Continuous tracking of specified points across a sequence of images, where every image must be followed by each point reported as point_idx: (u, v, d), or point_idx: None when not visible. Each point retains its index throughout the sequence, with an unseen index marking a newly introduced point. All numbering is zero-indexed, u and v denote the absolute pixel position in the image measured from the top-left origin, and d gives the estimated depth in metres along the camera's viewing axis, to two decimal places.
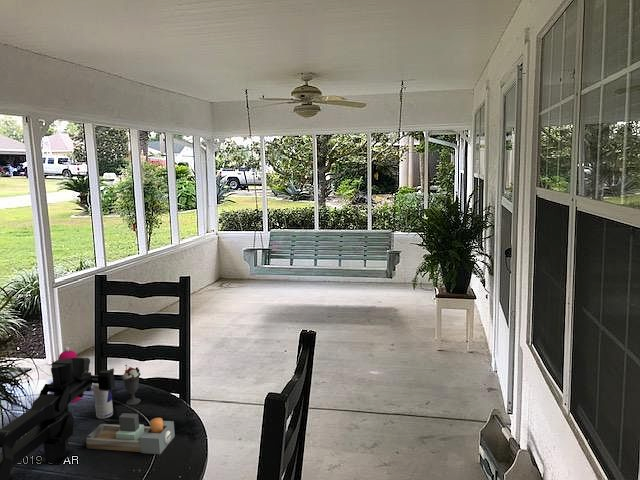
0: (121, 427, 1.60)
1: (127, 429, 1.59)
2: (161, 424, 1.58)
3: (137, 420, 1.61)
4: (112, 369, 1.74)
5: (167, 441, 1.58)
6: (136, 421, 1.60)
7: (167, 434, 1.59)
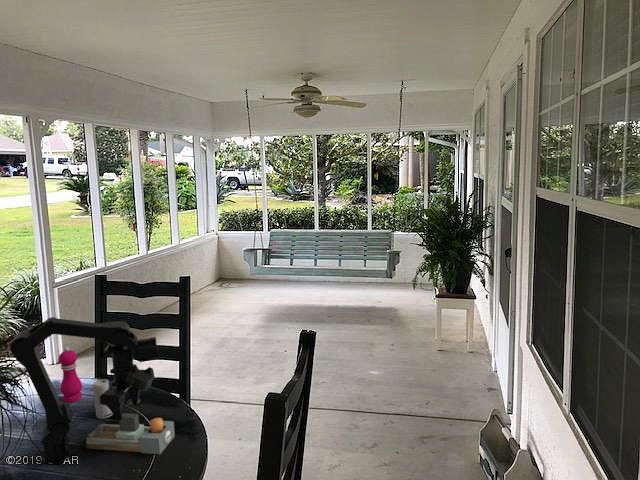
0: (121, 427, 1.60)
1: (127, 429, 1.59)
2: (161, 424, 1.58)
3: (137, 420, 1.61)
4: (120, 416, 1.54)
5: (167, 441, 1.58)
6: (136, 421, 1.60)
7: (167, 434, 1.59)
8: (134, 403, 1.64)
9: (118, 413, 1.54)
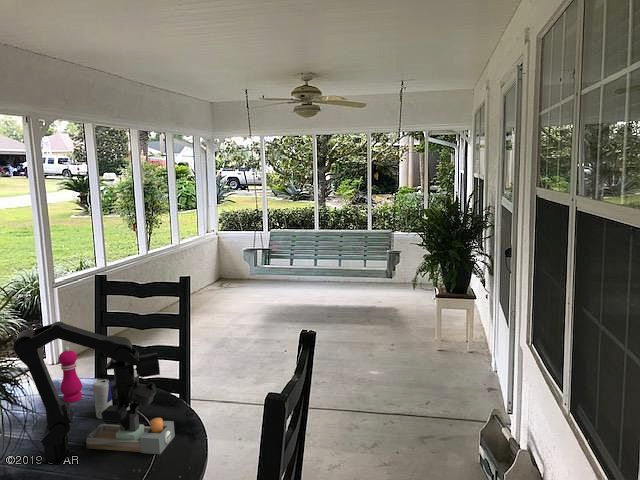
0: (121, 427, 1.60)
1: None
2: (161, 424, 1.58)
3: (137, 420, 1.61)
4: (128, 426, 1.58)
5: (167, 441, 1.58)
6: (136, 421, 1.60)
7: (167, 434, 1.59)
8: None
9: (126, 423, 1.58)
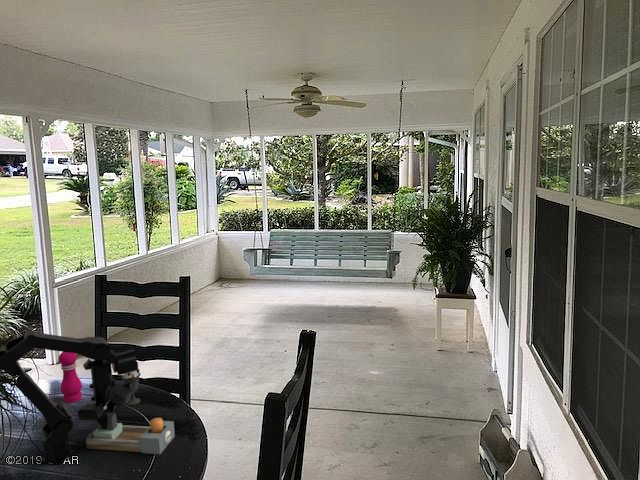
0: (99, 426, 1.61)
1: None
2: (161, 424, 1.58)
3: (115, 419, 1.62)
4: (105, 425, 1.60)
5: (167, 441, 1.58)
6: (114, 420, 1.61)
7: (167, 434, 1.59)
8: None
9: (103, 422, 1.59)
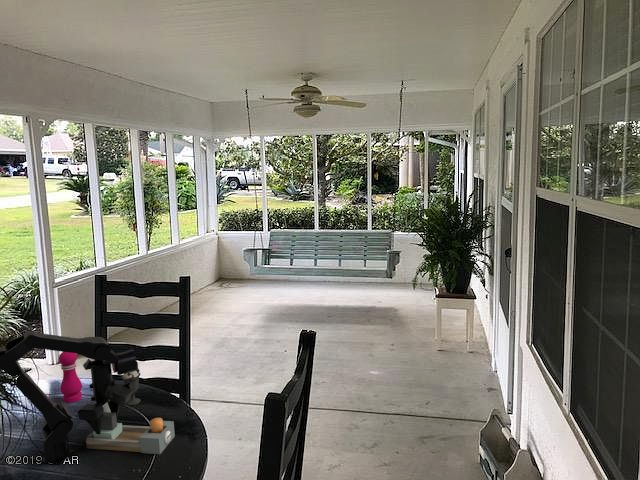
0: None
1: (105, 428, 1.61)
2: (161, 424, 1.58)
3: (115, 419, 1.62)
4: (99, 430, 1.56)
5: (167, 441, 1.58)
6: (114, 420, 1.61)
7: (167, 434, 1.59)
8: None
9: (97, 427, 1.56)
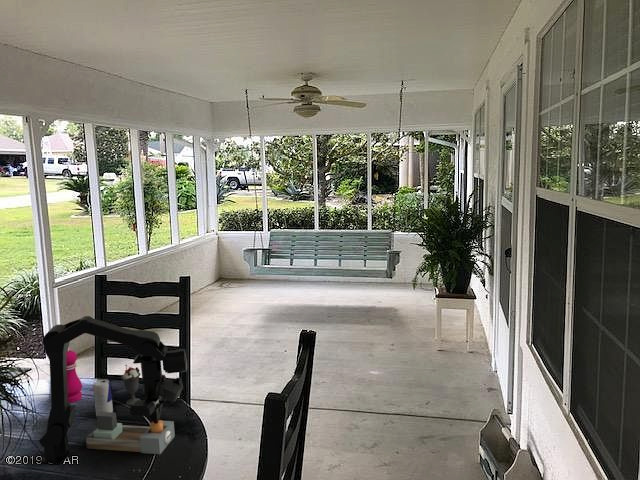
0: (99, 426, 1.61)
1: (105, 428, 1.61)
2: (161, 426, 1.58)
3: (115, 419, 1.62)
4: (157, 419, 1.58)
5: (167, 441, 1.58)
6: (114, 420, 1.61)
7: (167, 434, 1.59)
8: None
9: (155, 416, 1.57)
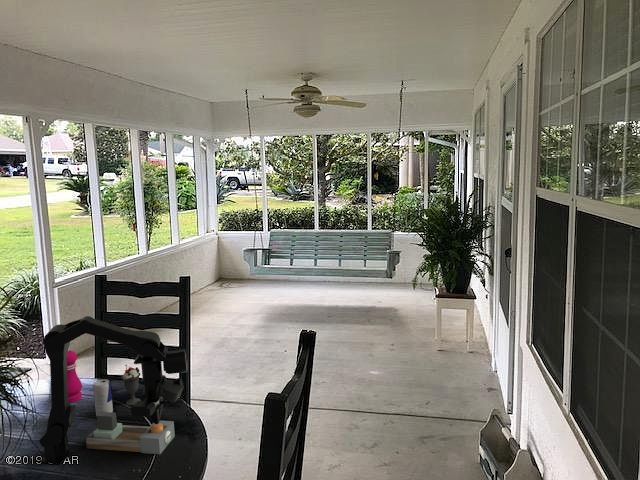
0: (99, 426, 1.61)
1: (105, 428, 1.61)
2: (162, 430, 1.59)
3: (115, 419, 1.62)
4: (157, 420, 1.58)
5: (167, 441, 1.58)
6: (114, 420, 1.61)
7: (167, 434, 1.59)
8: None
9: (155, 417, 1.57)
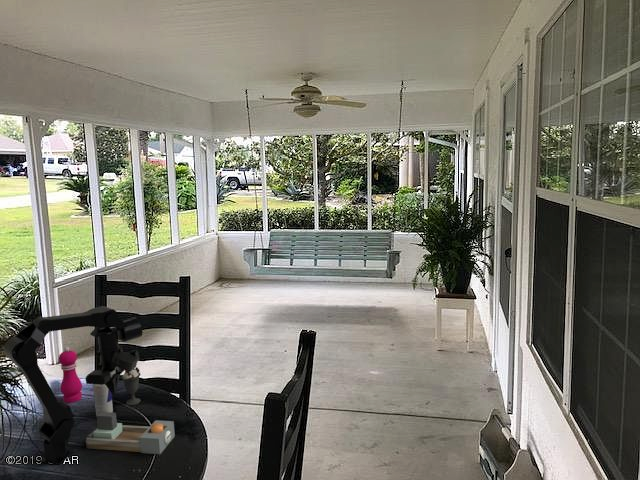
0: (99, 426, 1.61)
1: (105, 428, 1.61)
2: (162, 430, 1.59)
3: (115, 419, 1.62)
4: (114, 389, 1.65)
5: (167, 441, 1.58)
6: (114, 420, 1.61)
7: (167, 434, 1.59)
8: None
9: (112, 386, 1.65)
